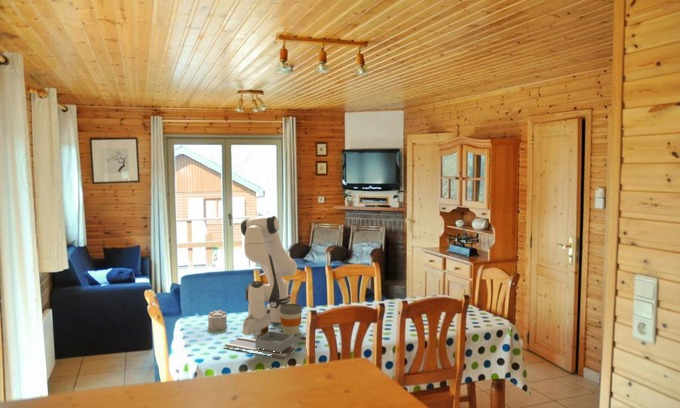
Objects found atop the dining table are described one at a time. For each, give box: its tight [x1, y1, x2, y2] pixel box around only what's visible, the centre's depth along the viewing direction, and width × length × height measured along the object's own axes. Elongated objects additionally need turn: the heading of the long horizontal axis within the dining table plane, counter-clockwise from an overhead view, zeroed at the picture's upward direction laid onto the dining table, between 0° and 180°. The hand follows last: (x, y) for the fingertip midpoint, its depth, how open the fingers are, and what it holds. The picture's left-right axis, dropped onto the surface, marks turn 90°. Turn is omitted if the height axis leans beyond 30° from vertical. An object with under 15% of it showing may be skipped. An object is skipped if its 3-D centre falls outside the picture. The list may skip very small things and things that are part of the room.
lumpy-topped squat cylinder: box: [207, 309, 228, 331], centre depth 329 cm, size 10×13×9 cm
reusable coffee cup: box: [280, 303, 303, 336], centre depth 320 cm, size 13×13×15 cm
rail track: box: [223, 336, 299, 360], centre depth 295 cm, size 16×36×2 cm, turn 66°
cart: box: [255, 330, 295, 353], centre depth 291 cm, size 15×15×6 cm
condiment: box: [252, 325, 270, 339], centre depth 310 cm, size 7×8×12 cm
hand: (257, 338), depth 295 cm, fingers closed
